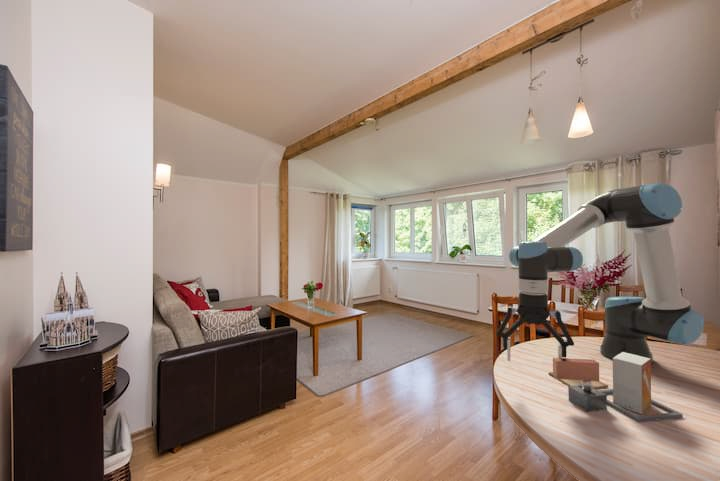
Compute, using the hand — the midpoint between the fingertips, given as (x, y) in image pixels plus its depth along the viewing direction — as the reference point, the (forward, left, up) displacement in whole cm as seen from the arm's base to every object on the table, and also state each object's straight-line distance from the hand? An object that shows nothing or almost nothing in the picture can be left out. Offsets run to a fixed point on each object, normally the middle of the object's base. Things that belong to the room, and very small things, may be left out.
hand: (533, 363), depth 90 cm
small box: (-22, +10, -9) cm, 26 cm away
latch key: (-7, +7, -5) cm, 11 cm away
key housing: (-10, +8, -9) cm, 16 cm away
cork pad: (-19, -5, -9) cm, 21 cm away
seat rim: (-22, +10, -9) cm, 26 cm away
